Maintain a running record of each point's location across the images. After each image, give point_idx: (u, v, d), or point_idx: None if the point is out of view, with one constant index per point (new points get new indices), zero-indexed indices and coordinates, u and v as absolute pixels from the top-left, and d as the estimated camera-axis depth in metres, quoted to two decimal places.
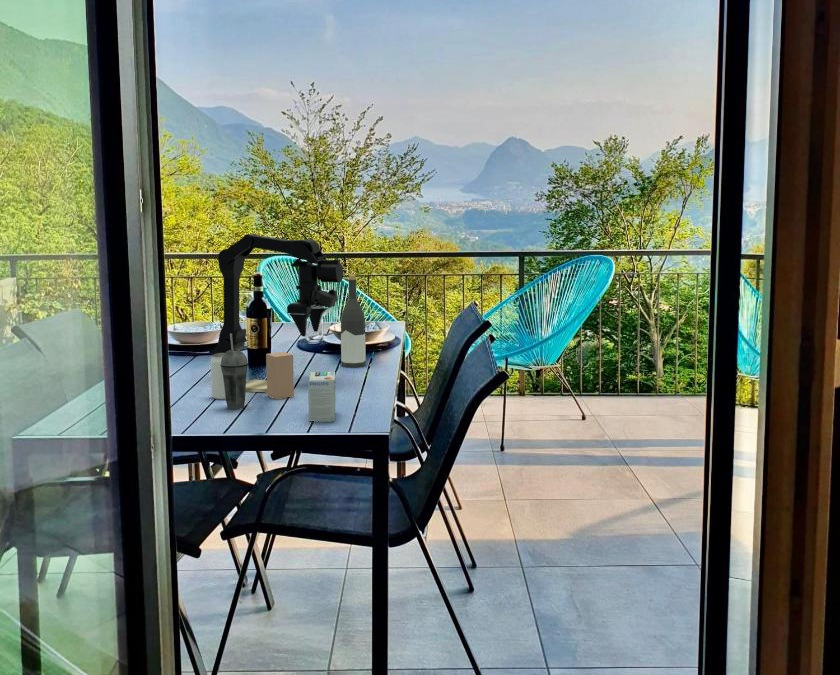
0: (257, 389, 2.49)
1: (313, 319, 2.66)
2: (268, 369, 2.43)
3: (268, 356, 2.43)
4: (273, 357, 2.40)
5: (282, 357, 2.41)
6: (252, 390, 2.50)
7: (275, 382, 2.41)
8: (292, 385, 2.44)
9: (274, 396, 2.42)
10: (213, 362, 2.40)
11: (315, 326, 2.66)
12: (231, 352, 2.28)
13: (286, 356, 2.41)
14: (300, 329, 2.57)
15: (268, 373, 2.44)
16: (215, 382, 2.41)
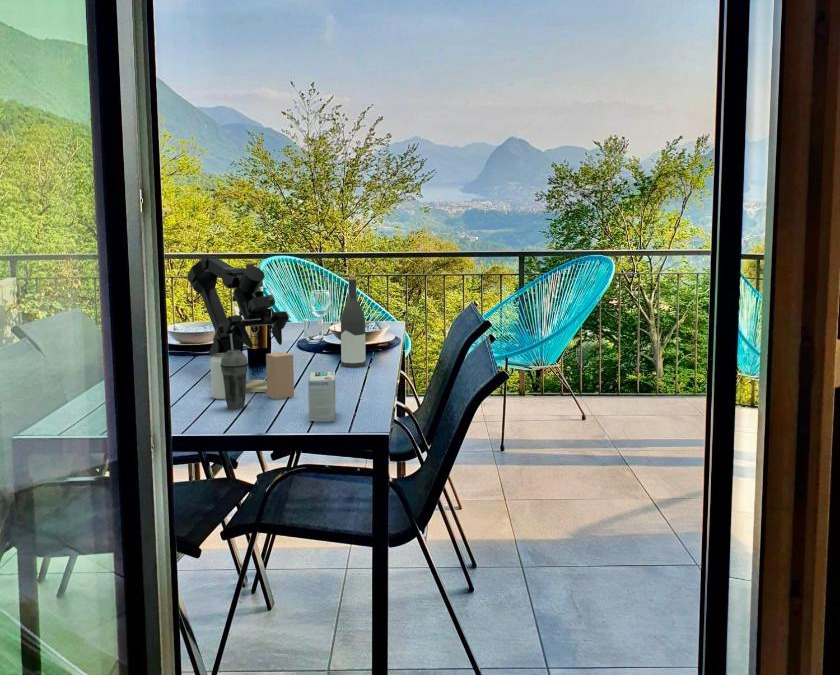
0: (257, 389, 2.49)
1: (275, 335, 2.54)
2: (268, 369, 2.43)
3: (268, 356, 2.43)
4: (273, 357, 2.40)
5: (282, 357, 2.41)
6: (252, 390, 2.50)
7: (275, 382, 2.41)
8: (292, 385, 2.44)
9: (274, 396, 2.42)
10: (213, 362, 2.40)
11: (278, 340, 2.52)
12: (231, 352, 2.28)
13: (286, 356, 2.41)
14: (246, 343, 2.47)
15: (268, 373, 2.44)
16: (215, 382, 2.41)
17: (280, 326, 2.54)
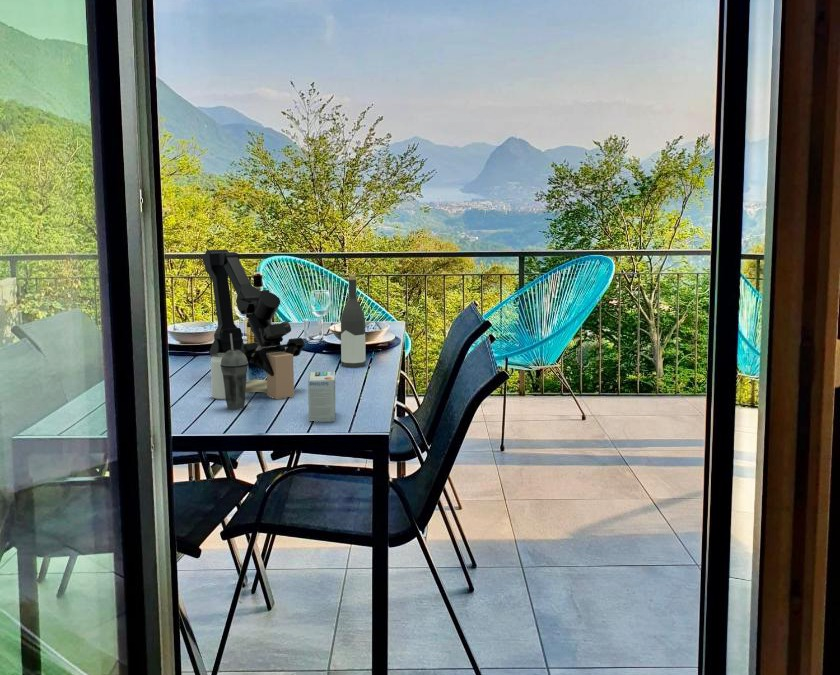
0: (257, 389, 2.49)
1: None
2: None
3: (268, 356, 2.42)
4: (273, 357, 2.40)
5: (282, 357, 2.41)
6: (252, 390, 2.50)
7: (275, 382, 2.41)
8: (292, 385, 2.44)
9: (274, 396, 2.42)
10: (213, 362, 2.40)
11: None
12: (231, 352, 2.28)
13: (286, 356, 2.41)
14: (267, 370, 2.42)
15: None
16: (215, 382, 2.41)
17: None
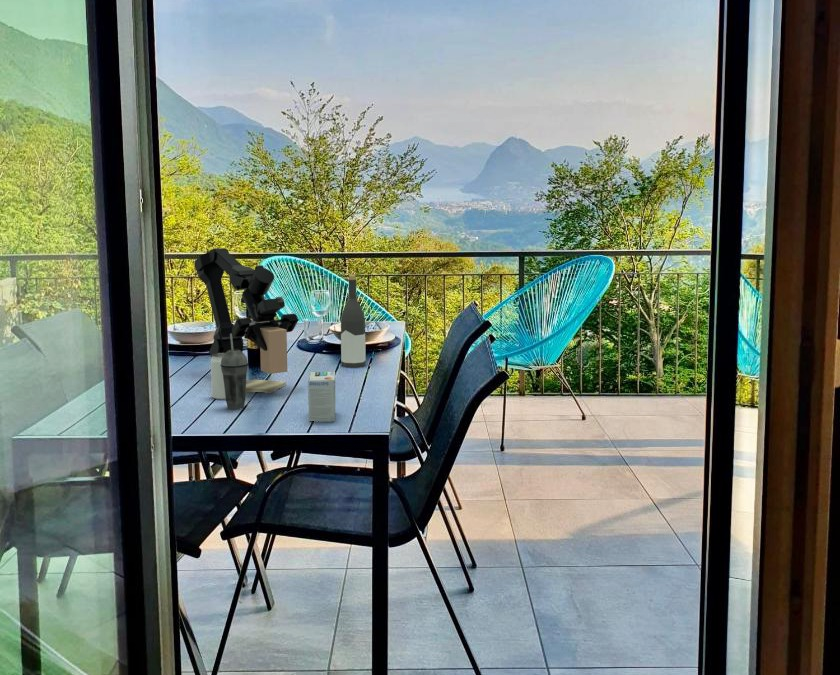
0: (257, 389, 2.49)
1: None
2: None
3: (262, 331, 2.44)
4: (267, 332, 2.42)
5: (276, 332, 2.42)
6: (252, 390, 2.50)
7: (269, 357, 2.43)
8: (285, 360, 2.46)
9: (267, 371, 2.44)
10: (213, 362, 2.40)
11: None
12: (231, 352, 2.28)
13: (280, 331, 2.43)
14: (260, 345, 2.44)
15: (261, 348, 2.46)
16: (215, 382, 2.41)
17: None
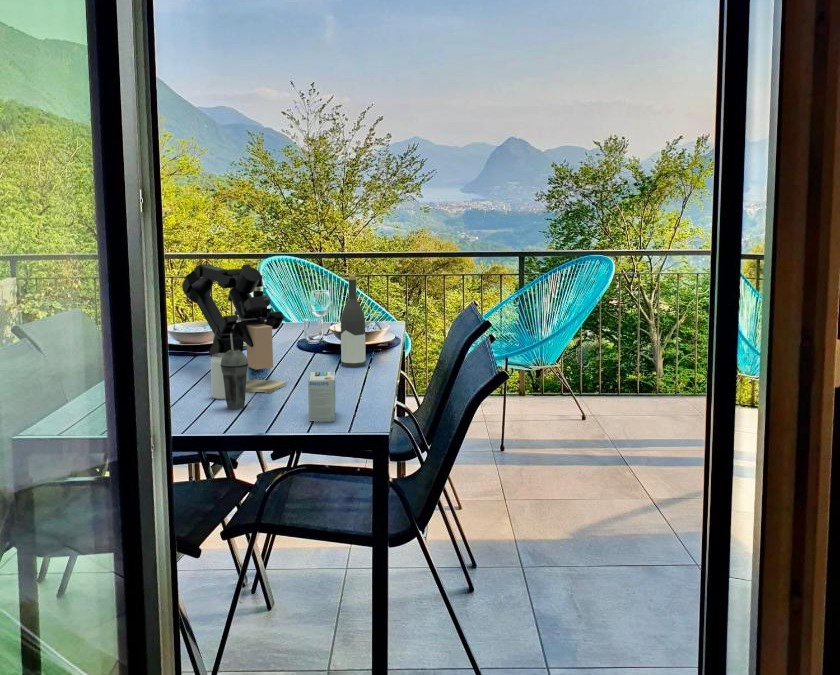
0: (257, 389, 2.49)
1: None
2: None
3: (248, 328, 2.52)
4: (253, 328, 2.49)
5: (261, 329, 2.50)
6: (252, 390, 2.50)
7: (255, 353, 2.50)
8: (271, 356, 2.53)
9: (254, 366, 2.51)
10: (213, 362, 2.40)
11: None
12: (231, 352, 2.28)
13: (265, 328, 2.51)
14: (246, 341, 2.51)
15: None
16: (215, 382, 2.41)
17: None
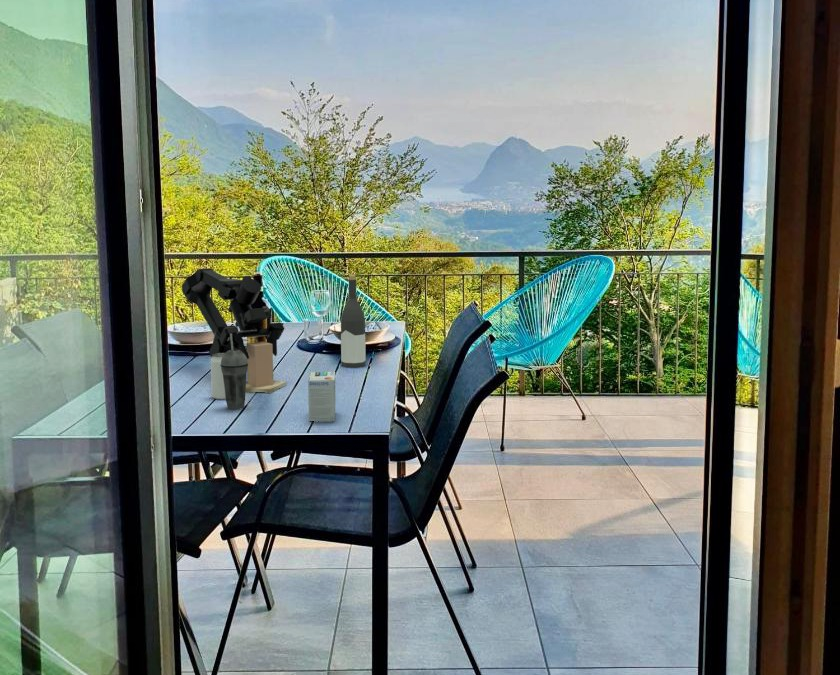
0: (257, 389, 2.49)
1: None
2: None
3: (248, 345, 2.53)
4: (253, 346, 2.50)
5: (262, 346, 2.51)
6: (252, 390, 2.50)
7: (255, 370, 2.51)
8: (271, 373, 2.54)
9: (254, 384, 2.52)
10: (213, 362, 2.40)
11: (273, 351, 2.56)
12: (231, 352, 2.28)
13: (266, 345, 2.51)
14: None
15: (248, 362, 2.54)
16: (215, 382, 2.41)
17: (275, 337, 2.57)
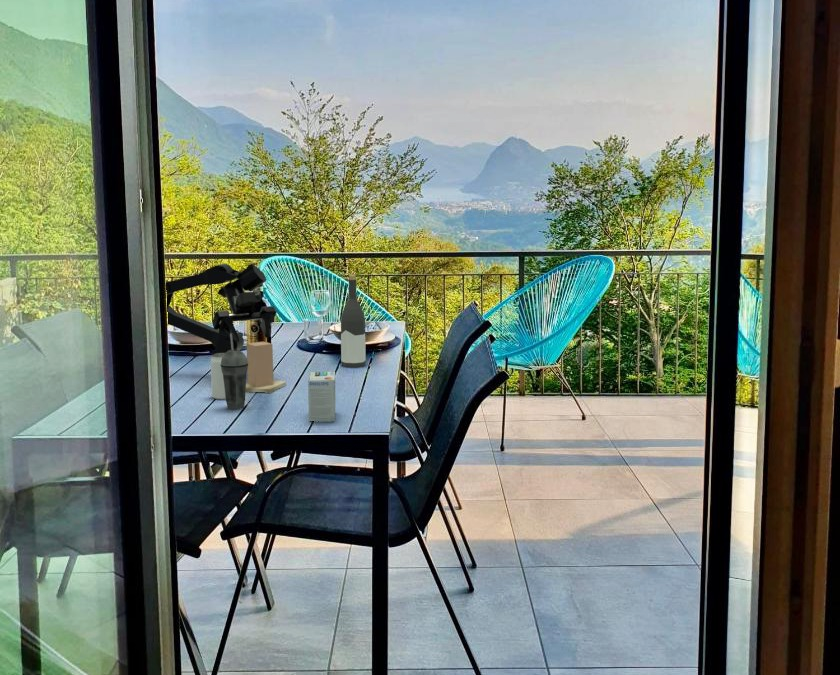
0: (257, 389, 2.49)
1: (263, 329, 2.64)
2: (248, 358, 2.53)
3: (248, 345, 2.53)
4: (253, 346, 2.50)
5: (262, 346, 2.51)
6: (252, 390, 2.50)
7: (255, 370, 2.51)
8: (271, 373, 2.54)
9: (254, 384, 2.52)
10: (213, 362, 2.40)
11: (265, 333, 2.62)
12: (231, 352, 2.28)
13: (266, 345, 2.51)
14: (233, 336, 2.58)
15: (248, 362, 2.54)
16: (215, 382, 2.41)
17: (267, 320, 2.63)
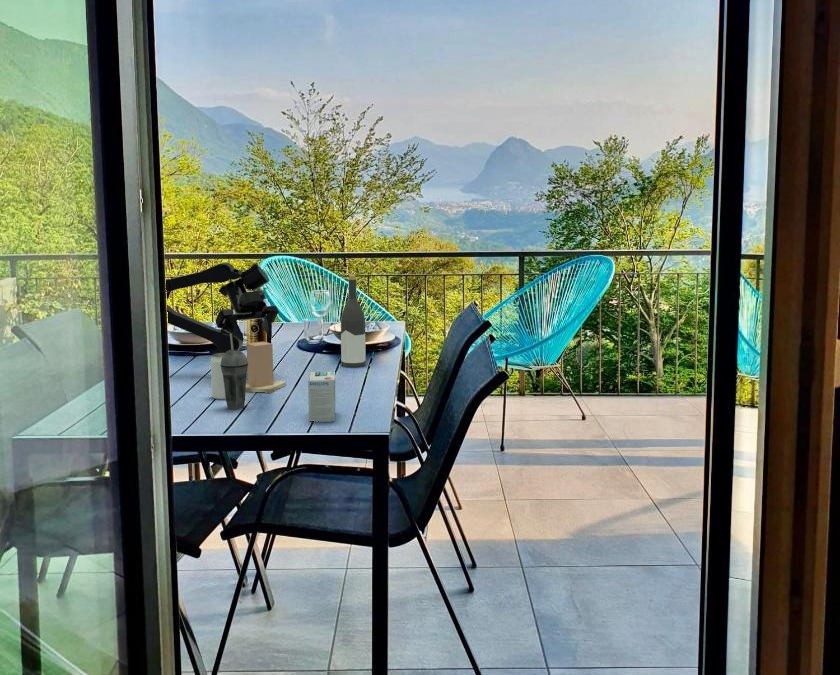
0: (257, 389, 2.49)
1: (266, 328, 2.65)
2: (248, 358, 2.53)
3: (248, 345, 2.53)
4: (253, 346, 2.50)
5: (262, 346, 2.51)
6: (252, 390, 2.50)
7: (255, 370, 2.51)
8: (271, 373, 2.54)
9: (254, 384, 2.52)
10: (213, 362, 2.40)
11: (268, 333, 2.63)
12: (231, 352, 2.28)
13: (266, 345, 2.51)
14: (237, 335, 2.58)
15: (248, 362, 2.54)
16: (215, 382, 2.41)
17: (270, 320, 2.65)
